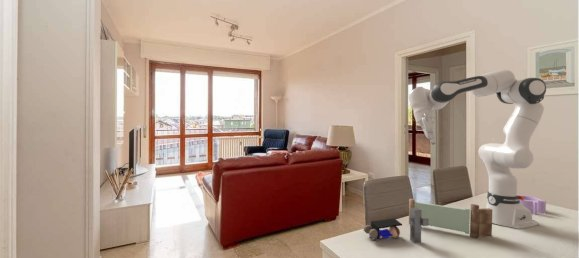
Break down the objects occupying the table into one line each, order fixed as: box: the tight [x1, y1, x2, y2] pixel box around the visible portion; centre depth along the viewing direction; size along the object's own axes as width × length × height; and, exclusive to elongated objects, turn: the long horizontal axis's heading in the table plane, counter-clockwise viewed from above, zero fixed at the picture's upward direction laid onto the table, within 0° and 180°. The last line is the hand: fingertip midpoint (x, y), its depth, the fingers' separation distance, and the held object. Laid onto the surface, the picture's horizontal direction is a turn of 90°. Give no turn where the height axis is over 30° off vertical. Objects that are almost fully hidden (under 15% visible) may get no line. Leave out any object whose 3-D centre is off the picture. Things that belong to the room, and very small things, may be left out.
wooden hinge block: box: [469, 203, 493, 239], centre depth 115 cm, size 10×3×14 cm, turn 98°
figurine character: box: [363, 217, 403, 242], centre depth 114 cm, size 7×8×15 cm
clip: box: [517, 193, 547, 216], centre depth 151 cm, size 20×12×7 cm, turn 16°
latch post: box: [409, 207, 429, 244], centre depth 110 cm, size 6×4×14 cm
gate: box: [408, 198, 471, 235], centre depth 122 cm, size 24×2×12 cm, turn 59°
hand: (433, 143), depth 128 cm, fingers open, 8 cm apart
